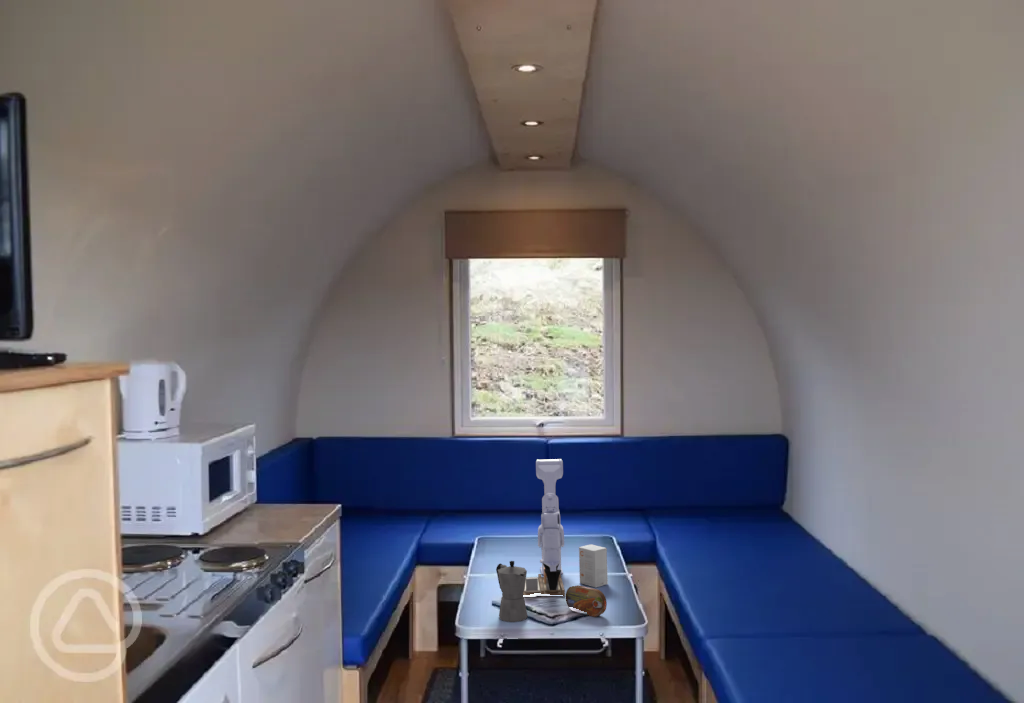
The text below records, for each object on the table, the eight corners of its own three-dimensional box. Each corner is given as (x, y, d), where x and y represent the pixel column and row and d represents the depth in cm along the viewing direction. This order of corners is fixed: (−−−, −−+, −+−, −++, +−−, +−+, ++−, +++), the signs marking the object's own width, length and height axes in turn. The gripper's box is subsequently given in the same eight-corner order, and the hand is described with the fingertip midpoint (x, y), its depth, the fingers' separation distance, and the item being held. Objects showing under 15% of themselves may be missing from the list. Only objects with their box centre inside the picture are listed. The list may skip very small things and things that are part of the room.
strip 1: (522, 579, 314) (522, 567, 314) (537, 579, 314) (537, 566, 314) (524, 592, 299) (523, 579, 299) (540, 592, 299) (539, 578, 299)
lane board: (519, 580, 317) (518, 574, 317) (560, 579, 318) (560, 573, 318) (520, 597, 297) (520, 591, 297) (564, 596, 298) (564, 589, 298)
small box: (608, 584, 310) (607, 547, 310) (595, 588, 306) (594, 551, 306) (591, 579, 317) (591, 543, 316) (579, 583, 313) (578, 546, 312)
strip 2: (542, 579, 314) (542, 566, 314) (557, 578, 315) (557, 566, 314) (544, 591, 300) (544, 578, 299) (560, 591, 300) (560, 578, 299)
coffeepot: (537, 619, 275) (536, 562, 274) (512, 626, 269) (510, 568, 269) (510, 607, 287) (509, 552, 287) (485, 613, 282) (484, 557, 282)
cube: (543, 579, 312) (543, 567, 312) (556, 579, 312) (556, 566, 312) (544, 583, 307) (544, 570, 307) (557, 583, 307) (557, 570, 307)
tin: (565, 610, 284) (564, 584, 283) (571, 607, 286) (570, 581, 286) (602, 619, 274) (601, 592, 273) (608, 617, 276) (607, 590, 276)
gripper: (538, 542, 307) (539, 580, 308) (540, 552, 293) (541, 593, 293) (558, 541, 307) (559, 580, 308) (561, 552, 293) (562, 592, 293)
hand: (552, 586), depth 300 cm, fingers open, 7 cm apart
